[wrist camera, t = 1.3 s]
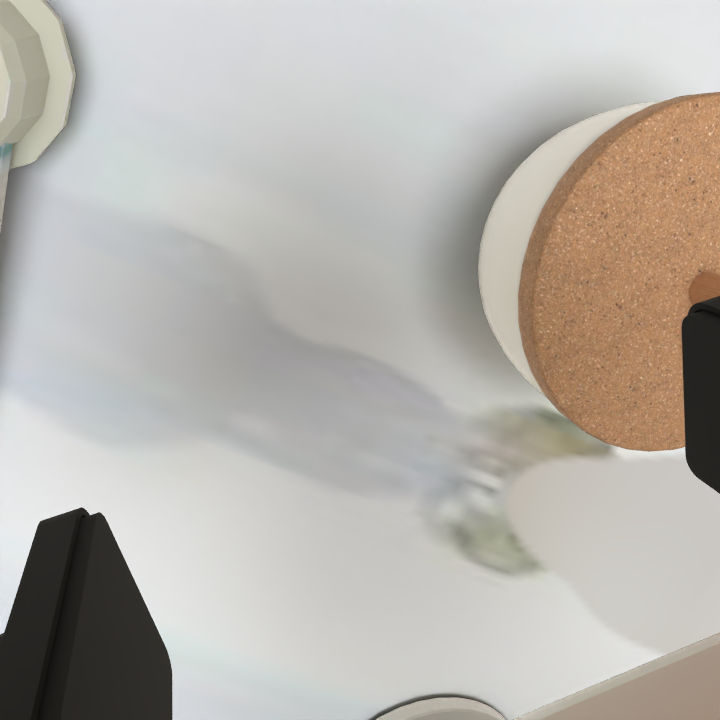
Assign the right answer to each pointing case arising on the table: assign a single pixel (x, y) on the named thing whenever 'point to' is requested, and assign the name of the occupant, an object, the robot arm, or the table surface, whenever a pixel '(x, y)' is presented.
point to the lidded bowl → (609, 264)
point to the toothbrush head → (31, 83)
